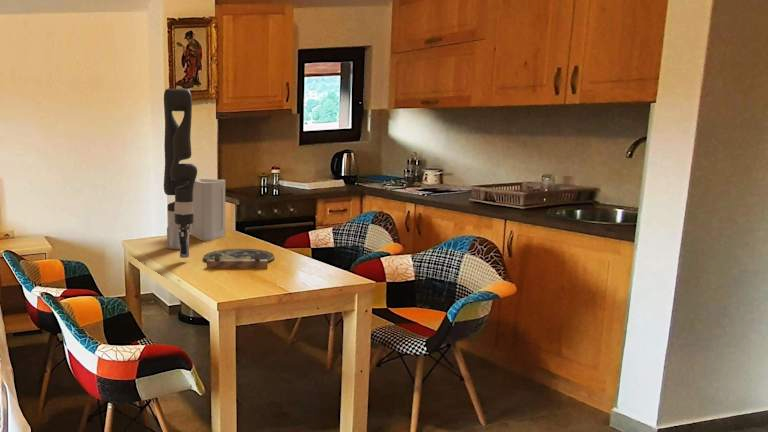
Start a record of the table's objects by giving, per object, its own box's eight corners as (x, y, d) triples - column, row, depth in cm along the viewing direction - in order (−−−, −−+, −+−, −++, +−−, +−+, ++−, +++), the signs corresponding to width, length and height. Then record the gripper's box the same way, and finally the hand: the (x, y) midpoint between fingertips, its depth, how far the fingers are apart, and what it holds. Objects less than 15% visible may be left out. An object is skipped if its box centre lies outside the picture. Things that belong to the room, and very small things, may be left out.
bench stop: (206, 268, 275) (206, 253, 274) (207, 266, 278) (207, 252, 277) (267, 268, 279) (267, 253, 278) (267, 266, 282) (267, 252, 281)
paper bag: (231, 238, 338) (232, 182, 334) (202, 240, 330) (202, 183, 325) (217, 232, 354) (217, 178, 349) (189, 234, 345) (188, 178, 341)
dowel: (179, 257, 282) (179, 236, 281) (180, 255, 286) (180, 234, 284) (188, 257, 283) (188, 236, 281) (189, 255, 286) (189, 234, 285)
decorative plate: (236, 245, 314) (288, 254, 300) (236, 249, 314) (288, 258, 300) (188, 257, 288) (242, 266, 274) (188, 261, 289) (242, 271, 274)
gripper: (176, 209, 287) (177, 249, 290) (172, 214, 273) (172, 256, 276) (195, 209, 288) (195, 249, 291) (191, 215, 275) (191, 256, 278)
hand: (184, 252), depth 284 cm, fingers closed on dowel, 3 cm apart
